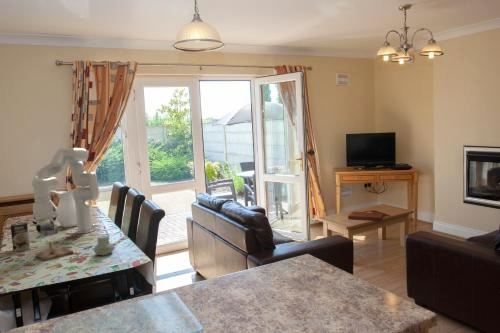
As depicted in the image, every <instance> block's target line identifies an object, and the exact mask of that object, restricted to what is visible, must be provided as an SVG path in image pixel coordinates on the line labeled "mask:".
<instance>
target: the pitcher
mask: <svg viewBox="0 0 500 333" xmlns="http://www.w3.org/2000/svg"><path fill="white" fill-rule="evenodd" d="M76 188H77V187H75V188H74V189H76ZM74 189H70V190H68V191H67V190H60V191H59V190H58V191H57V190H50V191H49V197H51V194H55V195H57V196H58V198H59V201H58V203H57V204H58V205H57V206H56V205H55V204H54V202H52V199H50V201H51V203H52V207H53V209H54V210H55V213H57V214H58V215H59V216H58V217H57V218H56V220H57V222H58V223H59V225H60V226H61V228H62V227H63V228H72V227H76V226H77V217H76V208H75V202H74V199H73V195H72V193H73V190H74Z"/></svg>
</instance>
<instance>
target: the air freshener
mask: <svg viewBox="0 0 500 333" xmlns="http://www.w3.org/2000/svg"><path fill="white" fill-rule="evenodd" d="M114 249H115V245H114V244H113V243H112V242H110V241H109V236H108V235H101V236H98V237H97V244H96V245H95V246H94V248H93V252H94V254H96V255H98V256H107V255H109V254H111V253H112V252H113V251H114Z"/></svg>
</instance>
